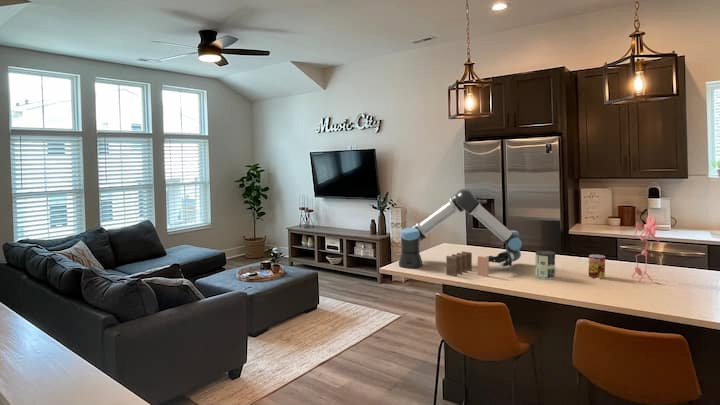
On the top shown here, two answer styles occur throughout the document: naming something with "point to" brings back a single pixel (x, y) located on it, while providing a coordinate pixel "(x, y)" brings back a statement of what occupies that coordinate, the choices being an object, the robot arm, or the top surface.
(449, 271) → the domino
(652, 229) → the figurine
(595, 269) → the canned food
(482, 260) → the domino
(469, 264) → the domino
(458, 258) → the domino
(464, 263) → the domino
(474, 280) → the top surface
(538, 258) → the coffee can
